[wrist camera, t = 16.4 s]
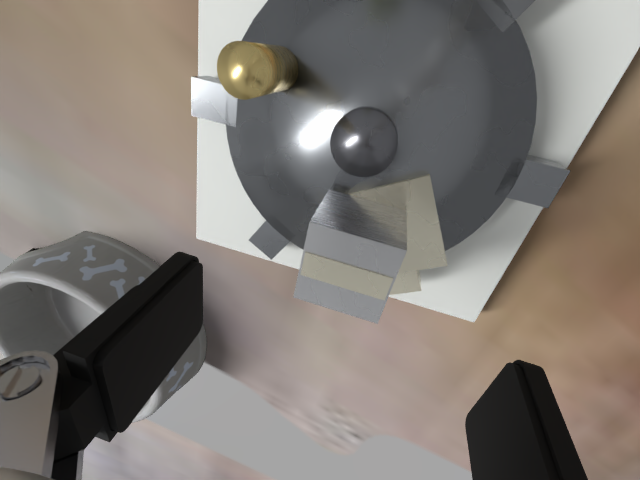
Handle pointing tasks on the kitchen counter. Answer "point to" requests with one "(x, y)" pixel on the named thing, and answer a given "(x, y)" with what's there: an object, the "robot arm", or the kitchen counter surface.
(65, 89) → the kitchen counter surface
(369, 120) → the sprocket
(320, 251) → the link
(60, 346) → the dog bowl
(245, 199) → the base plate
